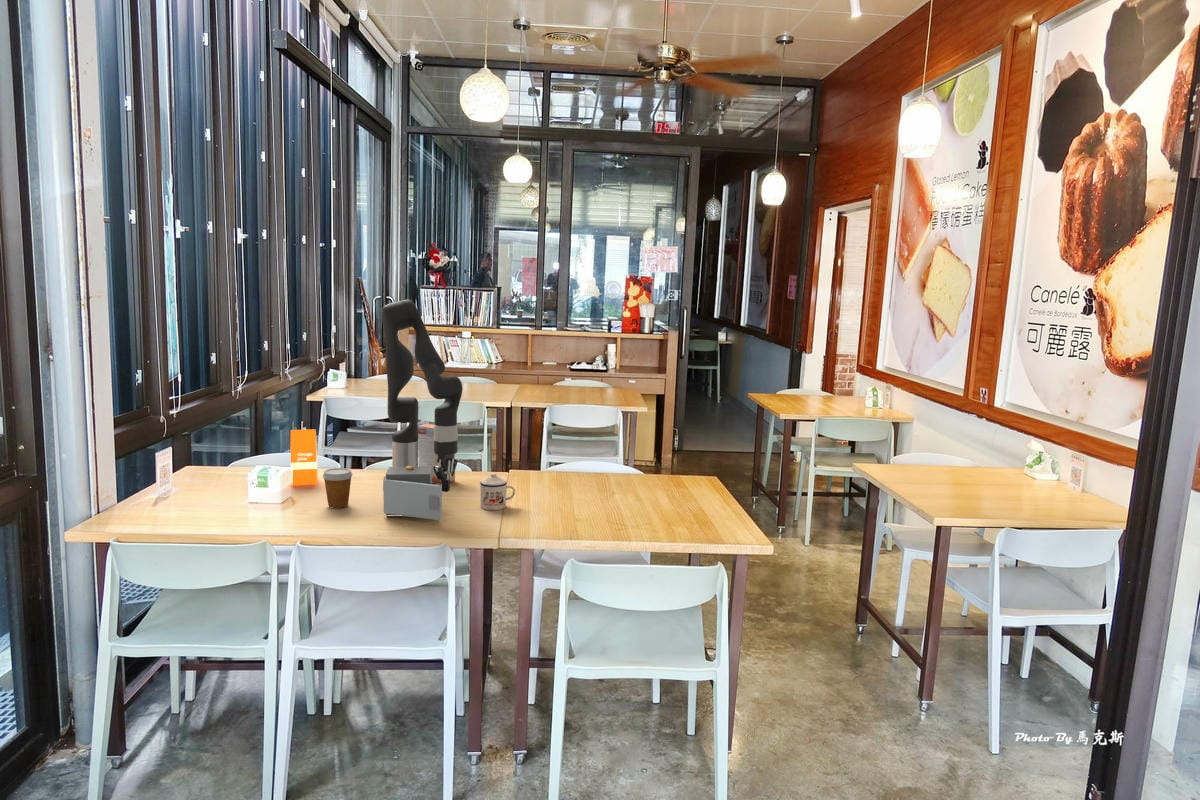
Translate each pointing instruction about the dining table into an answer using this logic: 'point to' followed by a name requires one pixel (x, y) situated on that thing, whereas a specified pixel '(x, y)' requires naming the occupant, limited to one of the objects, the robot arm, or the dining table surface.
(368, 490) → the dining table surface
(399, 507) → the side door
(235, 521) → the dining table surface
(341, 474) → the disposable coffee cup
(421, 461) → the cracker box
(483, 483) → the teacup with lid
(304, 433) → the orange juice
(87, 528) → the dining table surface
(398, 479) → the grey small cabinet
